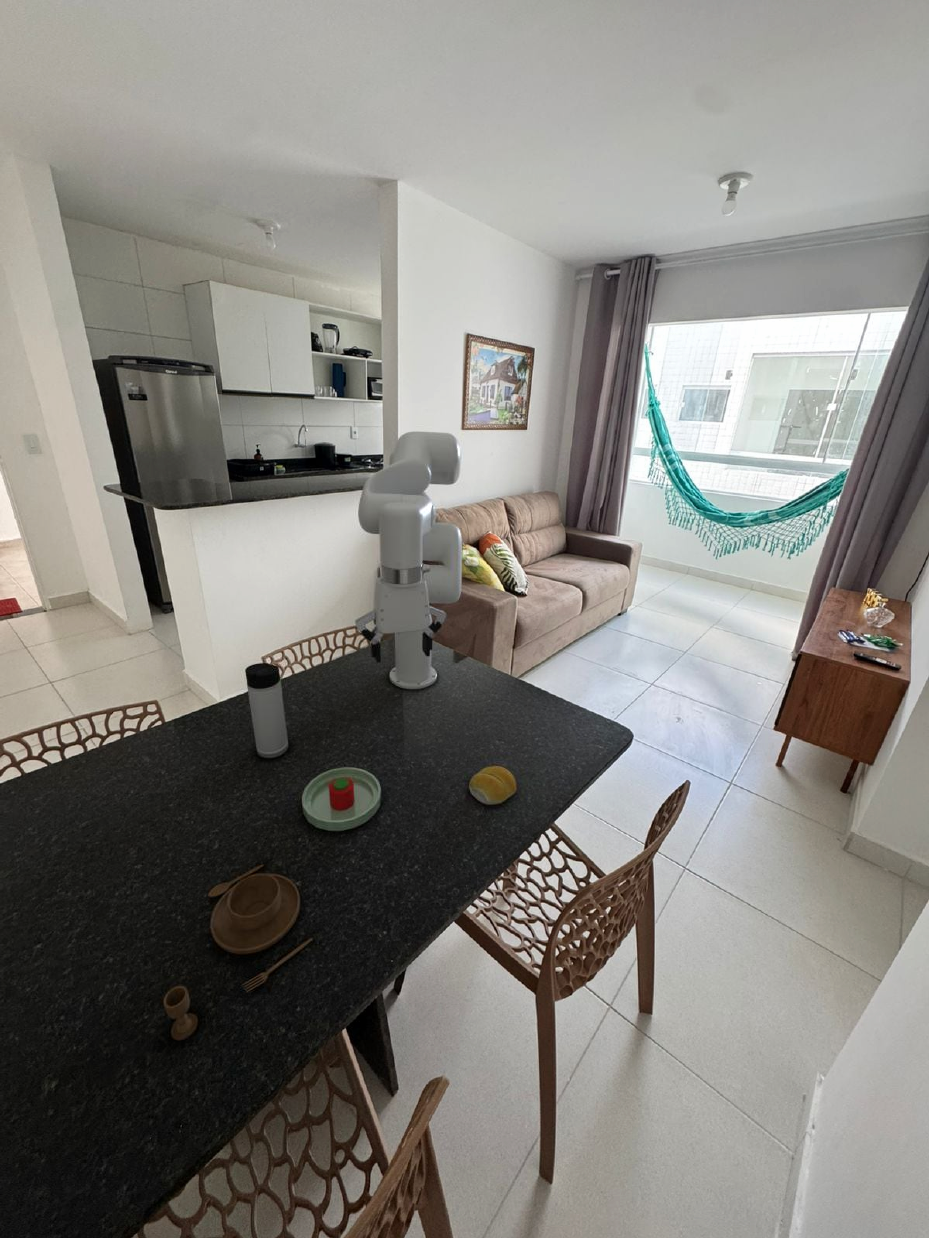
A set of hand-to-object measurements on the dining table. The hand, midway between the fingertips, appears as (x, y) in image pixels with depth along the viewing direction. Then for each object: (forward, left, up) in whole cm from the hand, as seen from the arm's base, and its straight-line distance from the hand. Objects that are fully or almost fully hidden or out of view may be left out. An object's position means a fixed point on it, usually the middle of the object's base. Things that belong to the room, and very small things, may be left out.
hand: (402, 656), depth 99 cm
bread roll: (+16, +14, -24) cm, 32 cm away
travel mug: (-9, -26, -24) cm, 36 cm away
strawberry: (+11, -14, -23) cm, 29 cm away
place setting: (+32, -32, -24) cm, 51 cm away
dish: (+11, -14, -23) cm, 29 cm away
